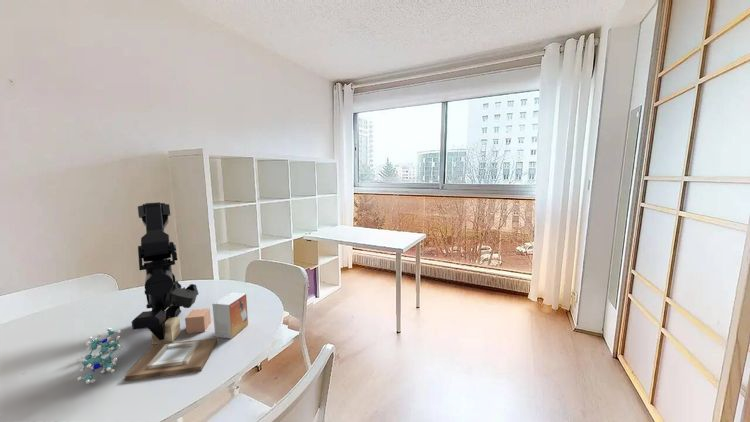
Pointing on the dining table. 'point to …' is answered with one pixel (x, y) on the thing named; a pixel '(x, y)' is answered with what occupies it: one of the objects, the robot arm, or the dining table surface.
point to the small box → (230, 315)
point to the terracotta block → (198, 320)
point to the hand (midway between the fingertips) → (166, 334)
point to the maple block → (169, 331)
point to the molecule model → (97, 358)
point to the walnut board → (173, 359)
